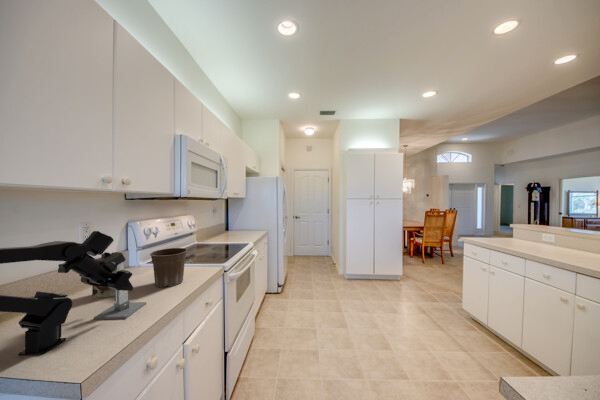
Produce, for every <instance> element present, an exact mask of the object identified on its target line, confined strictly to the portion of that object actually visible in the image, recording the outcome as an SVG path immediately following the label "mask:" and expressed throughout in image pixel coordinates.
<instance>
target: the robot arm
mask: <svg viewBox="0 0 600 400" xmlns="http://www.w3.org/2000/svg"><path fill="white" fill-rule="evenodd" d="M114 241H115V240H114V238H113V237H112V236H110V235H107V234H106V233H103V232H101V231H99V230H94V231H92V232H91V233H90V234H89V236H88V237H87V238H86V239H85V240H84V241H83V242H82V243H81V242H80V243H79V242H76V241H65V240H64V241H62V240H57V241H56V240H55V241H48V242H43V243H40V244H36V245H31V246H30V245H29V246H14V247H11V246H10V247H0V265H1V264H2V265H3V264H10V263H21V262H31V261H32V262H33V261H46V262H47V261H48V262H49V261H50V262H64V263H60V264H58V268H57V273H60V274H68V273H69V272H70V271H73V272H74V273H76V274H78V276H79V277H80V283H83V284H85V285H88V286H91V287H92V286H102V287H109V288H111V289H113V290H124V291H128V292H133V291H134V289H135V287H134V286H133V285H132V282H131V281H130V278H131V277H132V276H133V272H131V271H130V270H120V271H117V273H112V272H114V271H115V269H116V268H115V267H116V266H117V265H119V264H120V263H122V262H124V263H125V261H126V260H127V259H126V258H125V256H124V253H123V252H119V251H115V252H111V253H110V252H108V251H107V249H109V248H108V247H110V246H111V245H112V243H114ZM106 251H107V252H106ZM97 256H101V257H100V258H101V261H98V260H96V259H97V258H95V257H97ZM72 306H73V299H72V298H71V297H68V294H62V293H56V292H55V293H54V292H44V291H38V290H37V291H36V292H35V293H34V296H28V297H27V296H16V295H6V294H0V312H3V313H19V314H24V316H23V317H22V318H21V319H20V320H19V321H18V325H19V326H20V328H21V329H27V330H26V331H24V349H23V350H21V351H19V352H18V356H31V355H32V356H33V355H35V356H36V355H44V354H46V353H47V352H49V351H51V350H53V348H56V347H58V345H60V344H62V343H63V342H65V341H67V338H66V337H62V325H63V324H65V323H66V320H67V317H68V315H69V313H70V311H71V309H72Z"/></svg>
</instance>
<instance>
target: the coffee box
mask: <svg viewBox="0 0 600 400" xmlns="http://www.w3.org/2000/svg"><path fill="white" fill-rule="evenodd" d="M95 259H96V260H98V261H101V257H98V258H95ZM124 263H125V261H124V262H122V263H120V264H119V265H117V266H116V267H115V268H116V269H115V271H114V272H112V273H117V271H120V270H124V266H125V264H124ZM91 287H92V289H91V291H92V292H91V293H92V295H91V298H92V299H95V298H96V299H97V298H107V297H108V298H110V297H116V290H113V289H111V288H109V287H102V286H92V285H91Z"/></svg>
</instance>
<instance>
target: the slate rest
mask: <svg viewBox="0 0 600 400" xmlns="http://www.w3.org/2000/svg"><path fill="white" fill-rule="evenodd" d="M146 305H147V301H133V302H130V301H129V308H128V309H125V310H123V311H121V312H119V311H115V310H114V304H113V305H112V306H109V307H108V308H106V309H105V310H103V311H102V312H100V313H98V314H97V315H95V316H94V317H93V321H95V320H121V319H122V320H123V319H128V318H130V317H131V316H132V315H134V313H136V312H137V311H139V310H140V309H141V308H143V307H144V306H146Z"/></svg>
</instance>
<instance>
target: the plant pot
mask: <svg viewBox="0 0 600 400" xmlns="http://www.w3.org/2000/svg"><path fill="white" fill-rule="evenodd" d="M187 253H188V249H187V248H184V247H183V248H182V247H171V248H168V247H167V248H163V249H157V250H154V251H151V252H150V253H149V256H151V257H150V258H151V262H152V266H153V277H154V285H155V287H157V288H167V287H168V288H170V287H174V286H178V285H179V284H182V283H183V281H184V275H185V274H184V273H185V262H186V261H185V260H186V258H187Z"/></svg>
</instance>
